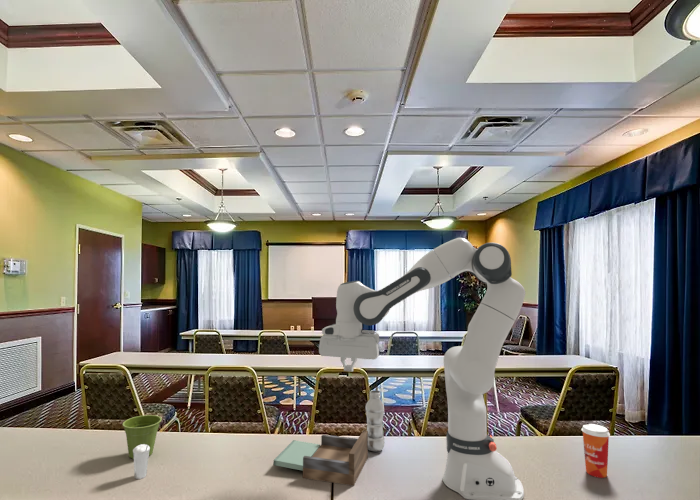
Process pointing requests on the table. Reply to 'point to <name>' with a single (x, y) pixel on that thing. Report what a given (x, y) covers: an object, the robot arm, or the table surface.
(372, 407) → the plastic bottle
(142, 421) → the plant pot
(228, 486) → the table surface
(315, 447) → the panel
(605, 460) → the paper cup
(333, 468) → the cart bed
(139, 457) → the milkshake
